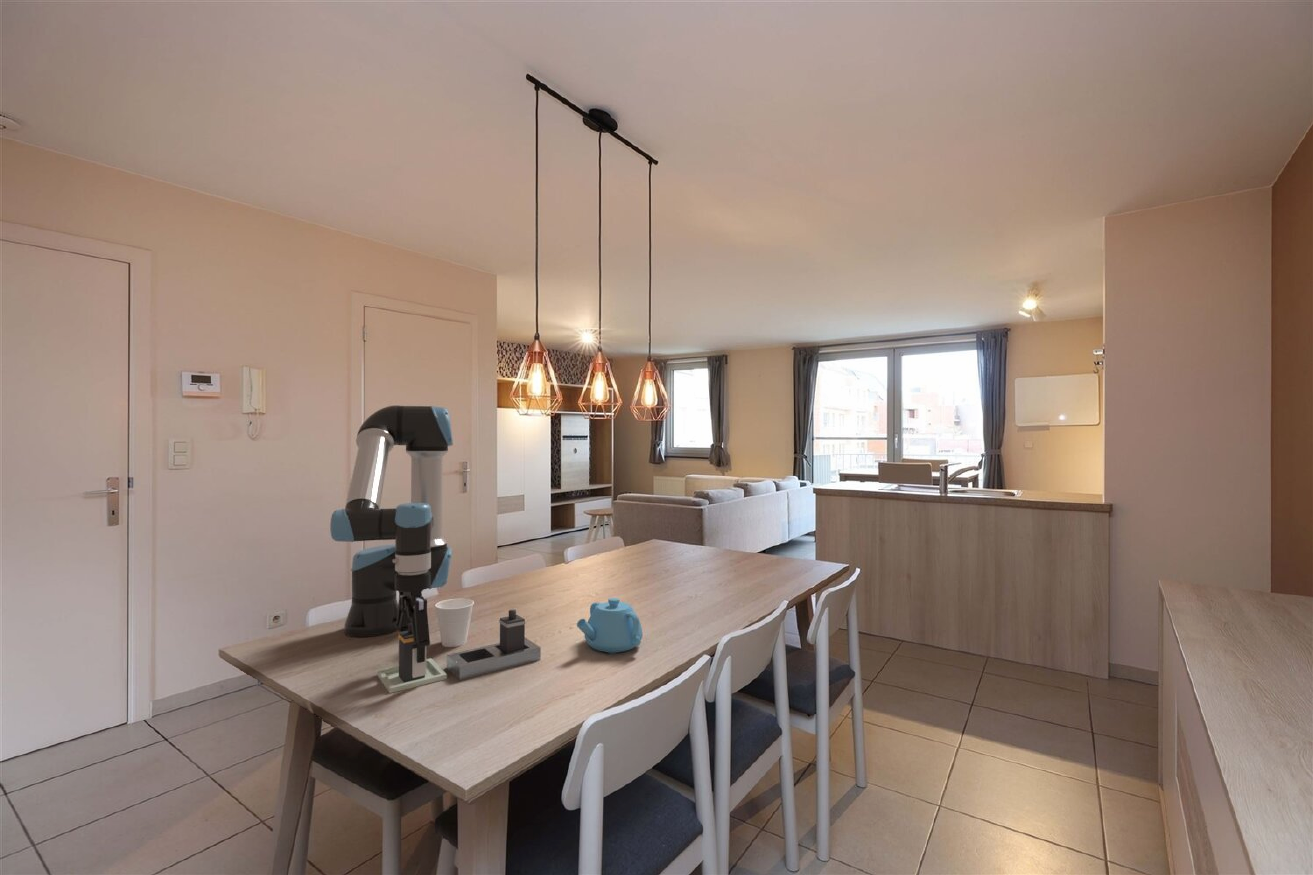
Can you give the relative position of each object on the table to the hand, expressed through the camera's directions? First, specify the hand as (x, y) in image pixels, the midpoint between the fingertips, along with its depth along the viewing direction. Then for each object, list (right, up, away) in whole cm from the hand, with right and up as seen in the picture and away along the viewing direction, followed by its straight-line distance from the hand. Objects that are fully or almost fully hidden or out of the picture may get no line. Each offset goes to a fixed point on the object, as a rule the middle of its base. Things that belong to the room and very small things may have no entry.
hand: (411, 667), depth 129 cm
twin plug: (+20, -2, +11) cm, 23 cm away
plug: (0, -2, 0) cm, 2 cm away
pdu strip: (+17, -3, +8) cm, 19 cm away
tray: (0, -3, 0) cm, 3 cm away
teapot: (+43, -3, +20) cm, 47 cm away
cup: (+2, -3, +22) cm, 22 cm away
